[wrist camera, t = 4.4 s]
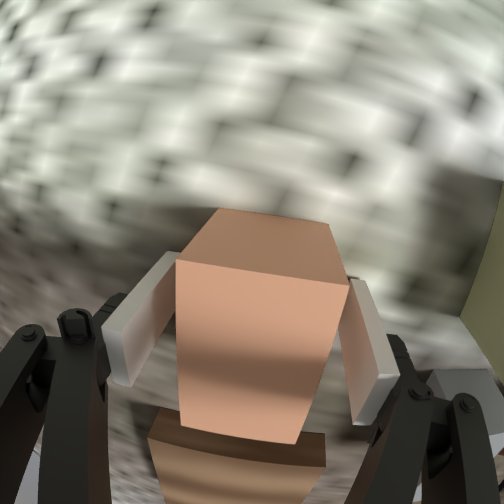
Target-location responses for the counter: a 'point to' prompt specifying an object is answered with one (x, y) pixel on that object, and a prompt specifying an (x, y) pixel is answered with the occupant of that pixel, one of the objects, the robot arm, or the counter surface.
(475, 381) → the grey brick
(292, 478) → the walnut board
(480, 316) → the olive brick
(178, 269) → the terracotta brick
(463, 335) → the counter surface
